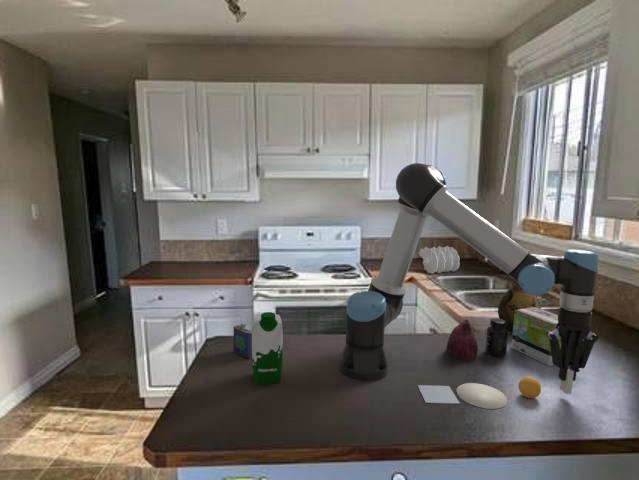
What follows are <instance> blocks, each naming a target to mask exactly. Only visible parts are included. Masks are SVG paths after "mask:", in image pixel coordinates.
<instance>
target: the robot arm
mask: <svg viewBox="0 0 639 480" xmlns="http://www.w3.org/2000/svg"><path fill="white" fill-rule="evenodd" d="M395 189H396V192H397V194H398V197H399V198H398V200H397V204H398V207H399V212H398V214H397V217H396V222H395V224H394V227H393V229H392V233H391V235H390V239H389V242H388V244H387V247H386V251H385V253H384V257H383V259H382V262H381V266H380V268H379V272H378V275H377V276H376V277H374V278H373V279H371V281H370V283H369V284H370V285H369V287H368V290H362V291H357V292H355V293H352V294H351V295H350V296H349V297H348V299H347V305H346V308H345V309H346V310H345V311H346V312H345V313H346V317H345V318H346V322H345V326H346V328H345V345H344V347H343V350H342V353H341V354H340V357H339V361H338V363H339V364H338V366H339V367H338V369H339V371H340V372H341V373H342V374H343V375H344V376H346V377H347V378H351V379H354V380H359V381H368V382H369V381H377V380H381V379H383V378H385V377H386V376H387V375H388V374H389V361H388V358H387V354H386V351H385V347H384V346H385V345H384V344H385V343H384V342H385V328H386V327H387V326H388V325H389V324H391V323H392V322H393V321H395V319H397V318H398V317H399V316H400V314H401V312H402V310H403V307H404V296H405V293H406V290H405V288H404V286H403V285H404V284H405V281H406V280H405V279H406V277H407V274H408V272H409V269H410V266H411V264H412V261H413V257H414V255H415V253H416V249H417V246H418V244H419V242H420V238H421V235H422V233H423V230H424V227H425V225H426V221H427V218H428V217H430V216H431V217H432V218H433V219H435V220H436V221H437V222H439V223H440V224H441V225H443V227H445V228H446V229H447V230H449V231H450V232H452V233H453V234H454V235H456V236H457V237H458V238H460V239H461V240H462V241H463V242H465V243H466V244H468V245H469V246H470V247H472V248H473V249H474V250H475V251H477V252H478V253H479V254H481V255H482V256H483V257H485V258H486V259H487V260H488V261H490V262H491V263H492V264H494V265H495V266H496V267H498V268H499V269H500V270H501V271H503V272H504V273H505V274H507V275H508V276H509V277H510V278H511V279H513V280H514V281H515V282H518V283H519V285H520V287H521V288H522V289H523V290H524V291H525V292H526V293H528V294H530V295H535V296H537V297H538V296H543V295H546V294H547V293H549V292H550V291H551V290H552V289H553V287H554V285H561V287H560V295H559V300H558V301H559V302H558V304H559V305H560V306H559V307H558V312H557V315H558V324H557V326H556V329H555V330H553V331H552V332H550V331H547V332H546V334H547V336H548V338H549V340H550V348H551V355H552V362H553V364H554V366H556V367H557V368H558V369H559V371H558V379H559V380H560V384H559V390H561V391H562V392H563V393H564V394H566V395H568V394H569V395H571V394H572V393H573V392H572V391H573V390H572V389H573V382H575V381H576V379H577V373H579V372H580V371H581V369H585V368H586V365H587V363H588V360H589V358H590V355H591V352H592V350H593V346H594V344H596V342H597V340H598V339H599V335H597V334H596V333H594V332H592V331H591V327H590V325H591V324H592V318H593V317H592V316H593V312H592V310H593V308H594V301H595V292H596V285H597V279H598V272H599V269H598V268H599V255H598V254H597V253H596V252H593V251H592V250H591V251H589V250H583V249H567V250H566V251H565V252H564V254H563V255H562V256H554V255H546V254H536V253H535V254H534V253H531V252H530V251H528V250H527V249H526V248H524V247H523V246H521V245H520V244H519V243H517V242H516V241H514V240H513V239H512V238H511V237H509V236H508V235H507V234H505V233H503V232H502V231H501V230H499V229H498V228H497V227H495V225H493V224H492V223H490V222H489V221H488V220H487V219H485V218H483V217H482V216H480V215H479V214H478V213H476V212H475V211H474V210H473V209H471V208H470V207H469V206H467V205H466V204H464V203H463V202H462V201H460V200H458V199H457V198H456V197H455V196H453V195H452V194H451V193H449V192H448V187H447V180H446V177H445V174H443V172H442V171H441V170H440V169H438V167H437V166H436V167H435V166H434V165H431V164H426V163H425V164H424V163H417V162H414V163H410V164H408V165H406V166H404V167H403V168H402V169H401V170H400V171H399V172H398V175H397V176H396V179H395ZM558 334H559V335H560V337H561V340H560V341H561V350H560V346H559V341H558V339H559V336H558Z"/></svg>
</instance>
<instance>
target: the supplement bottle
mask: <svg viewBox="0 0 639 480" xmlns="http://www.w3.org/2000/svg"><path fill="white" fill-rule="evenodd" d="M505 327H506V321H505V320H503V319H499V317H498V318H497V317H493V318H491V319H490V322H489V326H488V327H486V331H485V343H484V353H485V354H486V355H488V356H489V357H493V358H498V359H499V358H505V357H506V356H507V353H508V352H507V351H508V350H507V349H508V339H509V333H508V330H507V329H506V328H505Z"/></svg>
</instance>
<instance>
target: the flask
mask: <svg viewBox="0 0 639 480" xmlns="http://www.w3.org/2000/svg"><path fill="white" fill-rule="evenodd" d="M246 326H247V325H246V323H244V324H243V323H240V324H239V325H237V324H236V325H234V326H233V342H232V343H233V349H232V351H233V354H234V355H236V356H238V357H242V358H244V359H245V360H252V329H247V328H246Z"/></svg>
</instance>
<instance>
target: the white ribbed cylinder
mask: <svg viewBox="0 0 639 480" xmlns="http://www.w3.org/2000/svg"><path fill="white" fill-rule="evenodd" d="M418 255H419V256H420V257H421V258H422V264H423V267H424V268H423V270H425V271H426V272H427V273H428V274H431V275H433V274H434V273H438V274H441V273H444V272H447V273H448V272H451V271H452V272H455V271H457V270H459V268H460V264H461V263H460V256H459V254H458V251H457V250H456V249H455V248H454V247H453V246H448V245H446V246H444V247H443V246H440V245H438V247H435V246H434V247H431V248H429V247H427V246H426V247H424V248H420V249H419V252H418Z"/></svg>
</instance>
